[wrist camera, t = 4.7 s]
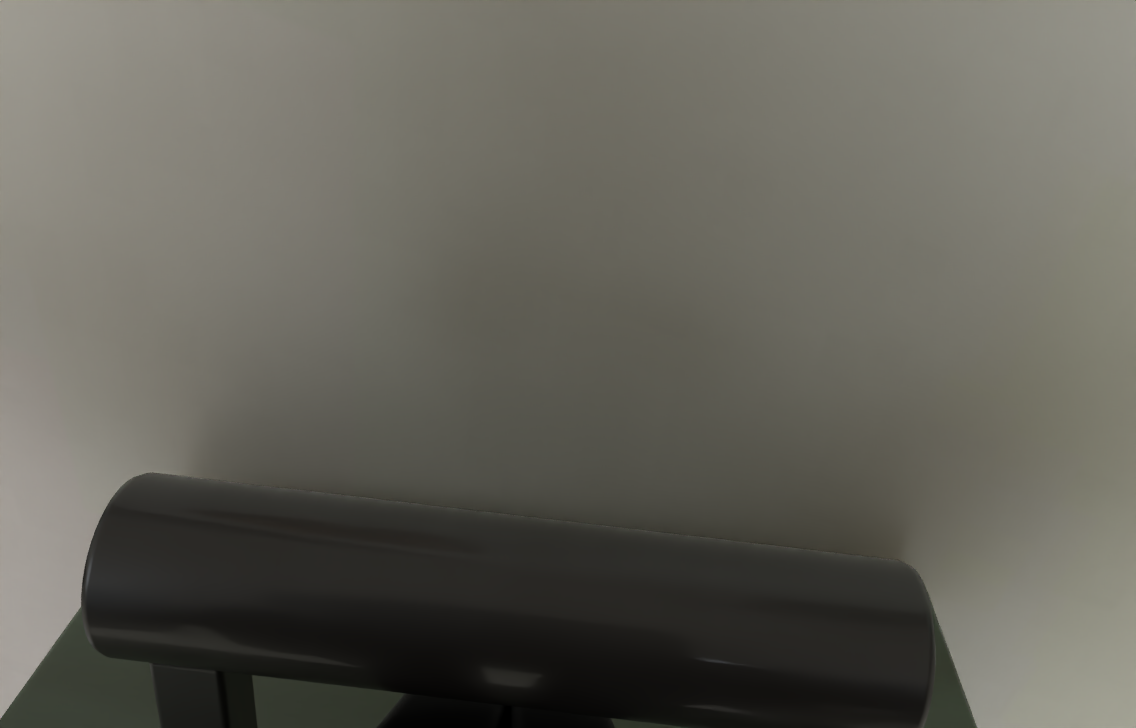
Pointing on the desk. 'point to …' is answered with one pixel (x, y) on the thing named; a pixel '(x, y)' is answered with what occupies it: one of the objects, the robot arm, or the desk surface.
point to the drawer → (472, 621)
